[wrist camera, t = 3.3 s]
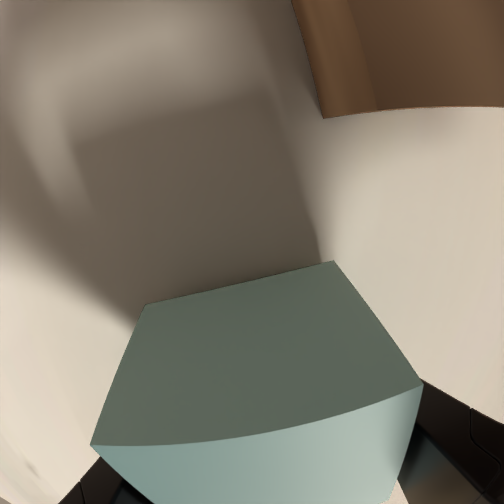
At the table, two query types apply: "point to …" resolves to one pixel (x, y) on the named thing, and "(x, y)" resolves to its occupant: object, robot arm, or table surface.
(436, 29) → the walnut plinth
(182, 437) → the slate block
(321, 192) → the table surface
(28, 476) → the table surface
